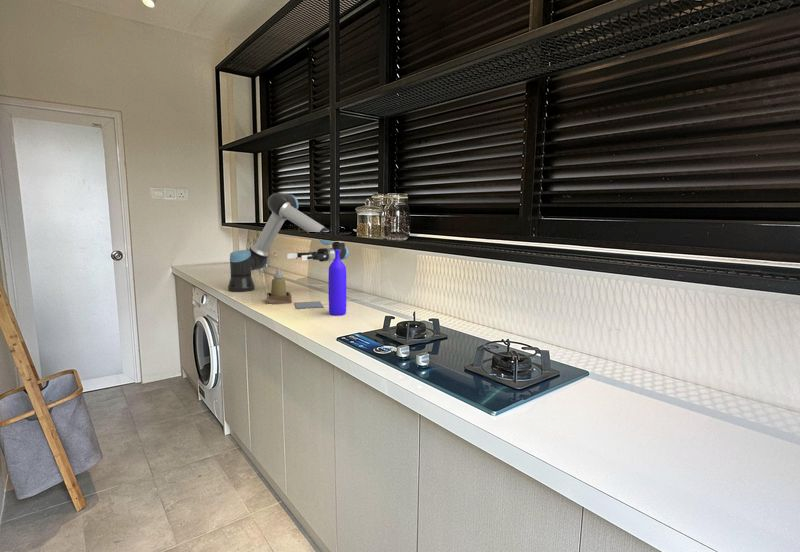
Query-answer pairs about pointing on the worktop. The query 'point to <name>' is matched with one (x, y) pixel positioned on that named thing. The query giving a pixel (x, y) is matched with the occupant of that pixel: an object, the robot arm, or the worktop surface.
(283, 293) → the squeeze bottle
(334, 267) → the bottle
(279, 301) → the holder
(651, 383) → the worktop surface
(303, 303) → the mat
